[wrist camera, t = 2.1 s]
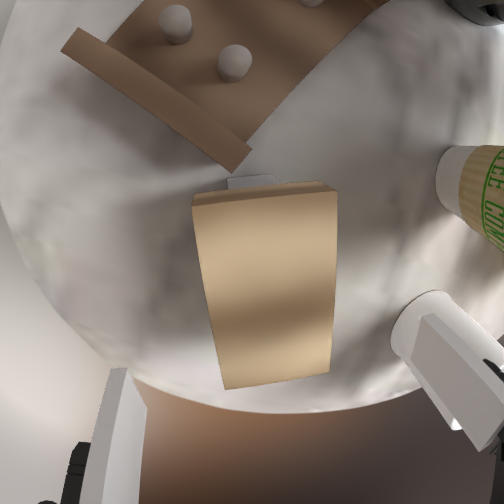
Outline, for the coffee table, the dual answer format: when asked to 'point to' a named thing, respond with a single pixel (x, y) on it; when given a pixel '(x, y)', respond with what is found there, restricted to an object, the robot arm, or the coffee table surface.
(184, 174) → the coffee table surface
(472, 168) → the coffee cup
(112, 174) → the coffee table surface
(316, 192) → the board
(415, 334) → the mug
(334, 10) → the cradle
